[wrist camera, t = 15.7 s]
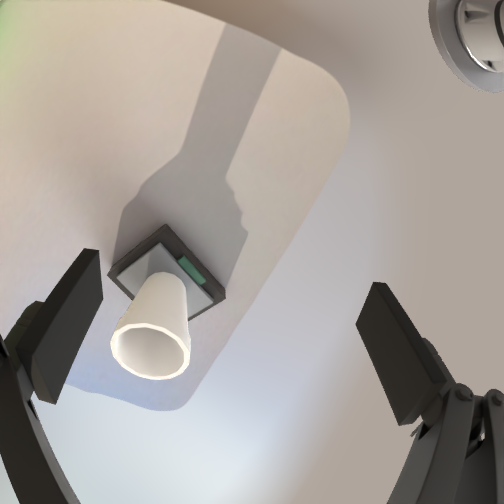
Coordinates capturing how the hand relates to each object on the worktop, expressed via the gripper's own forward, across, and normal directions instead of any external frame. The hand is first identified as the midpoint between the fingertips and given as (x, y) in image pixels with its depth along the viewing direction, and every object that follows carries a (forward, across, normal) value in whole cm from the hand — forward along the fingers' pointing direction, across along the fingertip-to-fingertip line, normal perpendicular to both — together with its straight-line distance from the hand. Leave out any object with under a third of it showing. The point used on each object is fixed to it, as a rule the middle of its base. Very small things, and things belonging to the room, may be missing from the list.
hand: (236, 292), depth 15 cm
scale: (+29, -8, -20) cm, 36 cm away
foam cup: (+26, -7, -19) cm, 34 cm away
